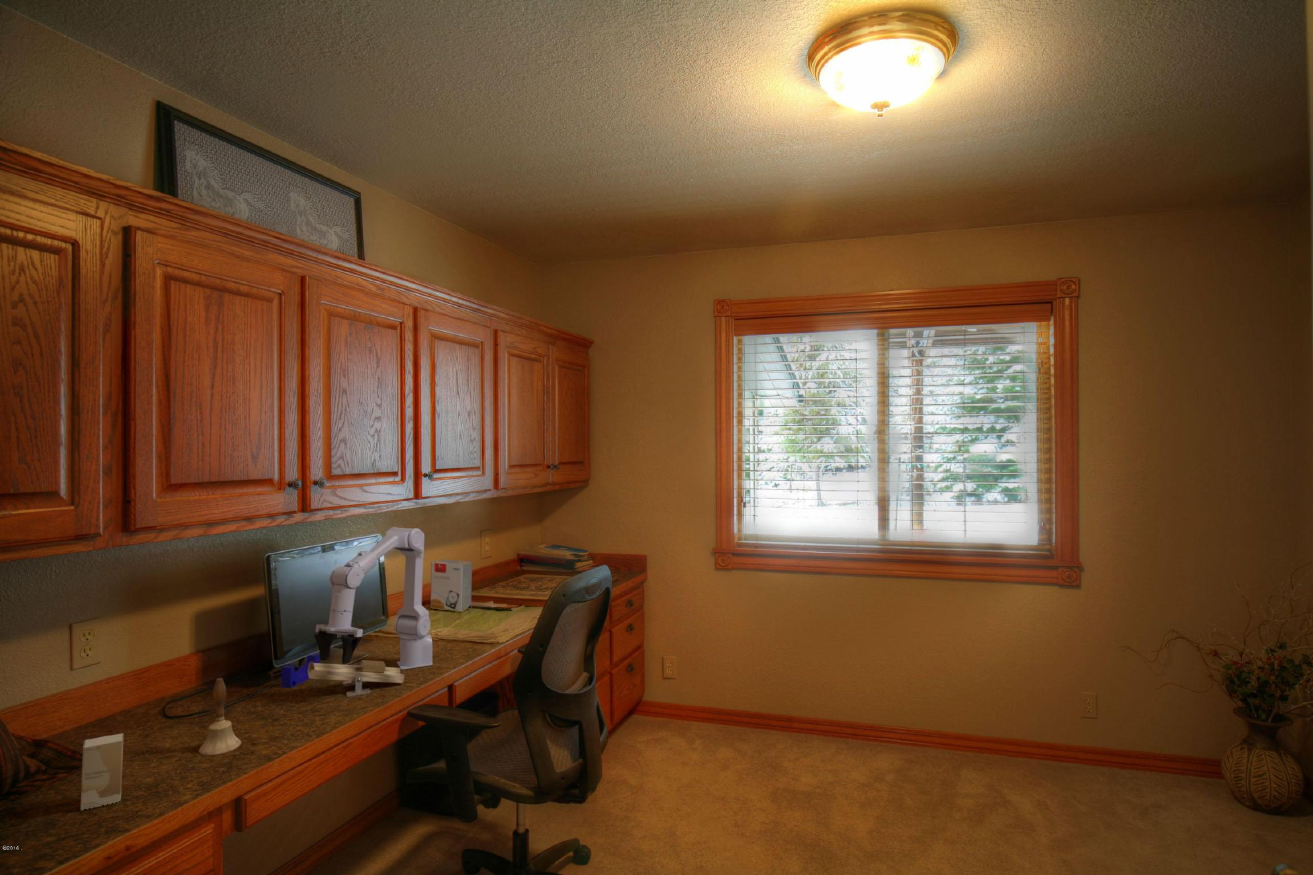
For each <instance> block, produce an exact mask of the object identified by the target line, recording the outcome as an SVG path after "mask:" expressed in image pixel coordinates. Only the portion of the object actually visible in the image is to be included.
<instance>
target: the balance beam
mask: <svg viewBox="0 0 1313 875" xmlns="http://www.w3.org/2000/svg"><path fill="white" fill-rule="evenodd" d="M360 666H361V665H353V664H337V663H320V662H319V663H313V662H310V663H309V666H308V676H309V679H308V680H311V679H312V680H330V681H331V680H332V681H333V680H335V681H351V680H352V681H355V676H358V675H362V681H366V682H375V683H377V682H378V683H398V684H401V683H402V684H403V683H404V680H405V676H406V675H405V674H402V673H401V668H400V667H387V666H386V667H385V671H384V673H368V672H360V671H359V670H360Z"/></svg>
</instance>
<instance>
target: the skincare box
mask: <svg viewBox="0 0 1313 875" xmlns="http://www.w3.org/2000/svg"><path fill="white" fill-rule="evenodd" d="M124 736H125V735H124V733H123V732H122V733H118V734H117V733H116V734H112V735H104V736H100V737H95V738H89V739H85V740H84V742H83V746H82V761H81V763H82V765H81V785H80V786H81V789H80V791H81V792H80V808H79V810H80V811H85V810H84V809H86V810H89V808H90V809H95V808H98V807H102V805H104V806H108V805H111V804H112V803H113V804H117V803H120V802H121V800H122V787H123V786H122V783H123V782H122V781H123V761H124V760H123V754H124ZM119 801H120V802H119ZM116 802H117V803H116ZM107 804H108V805H107ZM113 804H112V805H113ZM94 807H95V808H94Z"/></svg>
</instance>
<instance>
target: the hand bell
mask: <svg viewBox="0 0 1313 875" xmlns="http://www.w3.org/2000/svg"><path fill="white" fill-rule="evenodd" d="M212 696H213V697H212V698H213V701H214V704H215V721H214V722H213V723H211V724H210V725H209V726H208V729H207V730H208V732H207V737H206V739H205V741H204V742H203V744H202V745H201V746H200V747H199V749H198V753H199V754H200V755H203V756H218V755H223V754H226V753H229V752H232V751H234V750H236V749H237V748H239V747H240V746H241V745H242V741H241V739H240V738H239V737H237V736H236V734H235V733H234V731H233V726H232V725H233V724H232V722H231V721H230V720H227V719H225V709H224V707H225V701H226V697H227V687H226V683H225V682H224V679H223V677H218V678H216V679H215V683H214V686H213V689H212Z"/></svg>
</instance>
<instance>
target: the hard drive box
mask: <svg viewBox="0 0 1313 875" xmlns="http://www.w3.org/2000/svg"><path fill="white" fill-rule="evenodd" d="M472 575H473V562H471V561H463V560H449V559H439V560H435V561H432V562H430V609H431V608H438V609H451V610H457V611H463V610H465V609H467V608H468V607H469V606H470V605H471V606H472V583H473V582H472V578H473V577H472Z"/></svg>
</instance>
